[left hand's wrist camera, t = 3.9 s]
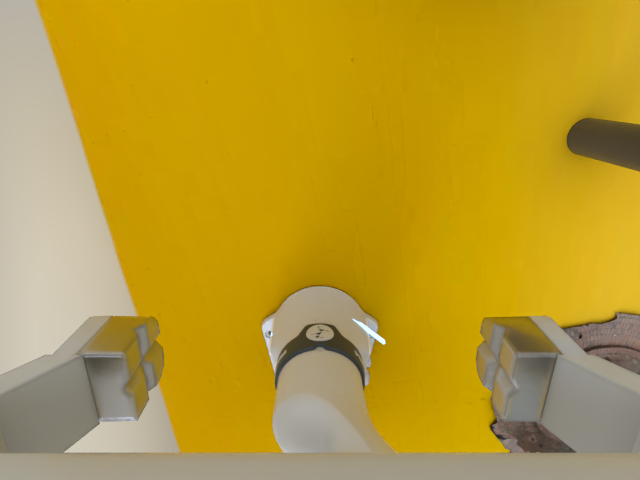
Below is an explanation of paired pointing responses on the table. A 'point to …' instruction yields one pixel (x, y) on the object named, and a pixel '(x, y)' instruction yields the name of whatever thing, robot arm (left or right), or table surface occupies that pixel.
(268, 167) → the table surface
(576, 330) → the sculpture
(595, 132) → the dark grey cylinder
